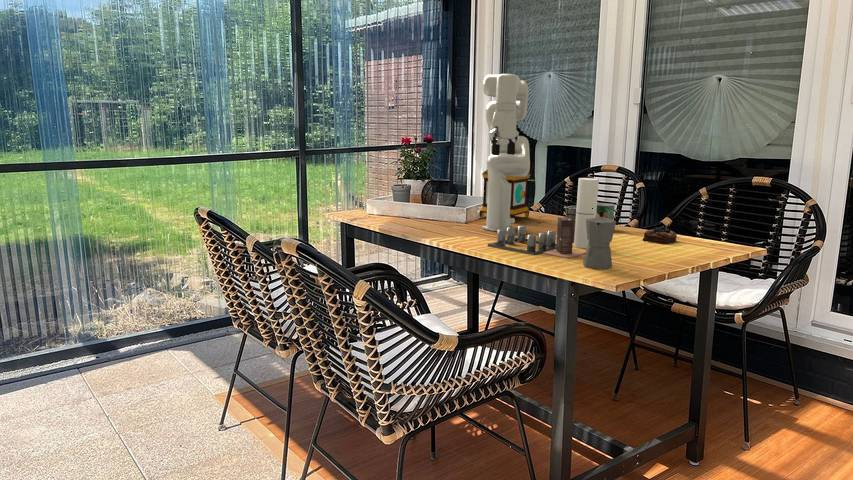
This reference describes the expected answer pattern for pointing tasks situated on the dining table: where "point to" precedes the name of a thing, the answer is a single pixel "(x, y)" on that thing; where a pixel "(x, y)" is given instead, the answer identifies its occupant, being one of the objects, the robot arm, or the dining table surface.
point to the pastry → (660, 236)
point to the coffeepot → (599, 242)
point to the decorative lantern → (517, 195)
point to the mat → (556, 253)
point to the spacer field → (543, 242)
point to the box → (564, 235)
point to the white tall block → (585, 209)
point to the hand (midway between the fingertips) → (503, 154)
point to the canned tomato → (605, 210)
